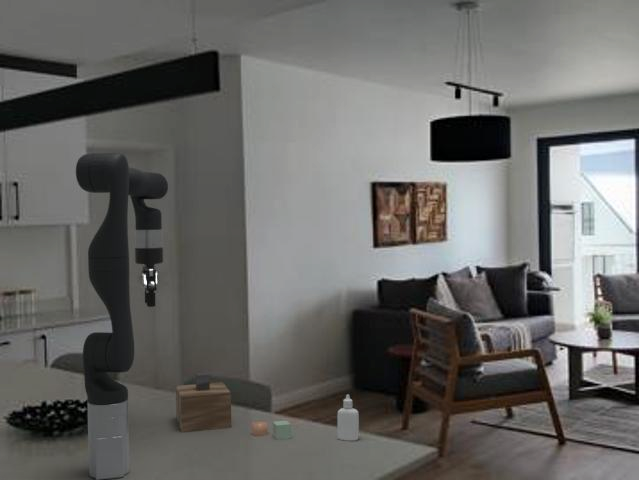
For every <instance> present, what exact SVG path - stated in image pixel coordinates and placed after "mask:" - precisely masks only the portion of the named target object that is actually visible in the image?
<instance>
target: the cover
mask: <svg viewBox="0 0 639 480" xmlns="http://www.w3.org/2000/svg"><path fill="white" fill-rule="evenodd" d="M210 381H211V379H210V374H209V372H208V371H205V372H195V384H183V385H175V411H176V412H175V413H176V414H175V416H176V417H175V418H176V421H177V424H178V426H179V429H180V432H181V433H188V432H198V431H208V430H218V429H219V430H220V429H229V428H232V393H231V391H230V390H229V389H228V387H227V386H226V384H225V383H224V381H223V382H222V381H220V382H210Z"/></svg>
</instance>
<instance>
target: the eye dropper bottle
mask: <svg viewBox="0 0 639 480" xmlns="http://www.w3.org/2000/svg"><path fill="white" fill-rule="evenodd" d="M342 400H343V404H342V405H343V407H342V408H340V409H338V411H337V419H336V420H337V424H336V425H337V439H338V440H341V441H346V442H347V441H349V442H352V441H353V442H354V441H358V439H359V438H360V422H359V421H360V419H359V415H360V414H359V411H358V410H357V409H356V408H353V399H351V397H350V394H346V395H345V398H344V399H342Z"/></svg>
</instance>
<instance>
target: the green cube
mask: <svg viewBox="0 0 639 480" xmlns="http://www.w3.org/2000/svg"><path fill="white" fill-rule="evenodd" d="M272 436H273V438H274V439H275V438H276V439H282V440H286V439H285V438H291V439H292V423H290V422H289V421H288V420H287V419H286V420H285V419H284V420H277V421H276V420H275V421H272ZM276 439H275V440H276Z"/></svg>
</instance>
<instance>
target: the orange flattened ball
mask: <svg viewBox="0 0 639 480" xmlns="http://www.w3.org/2000/svg"><path fill="white" fill-rule="evenodd" d="M251 434H252V436H254V437H265V436H267V435H268V434H269V422H268V421H265V420H264V421H263V420H257V421H253V422H252V423H251ZM264 435H265V436H264Z"/></svg>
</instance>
